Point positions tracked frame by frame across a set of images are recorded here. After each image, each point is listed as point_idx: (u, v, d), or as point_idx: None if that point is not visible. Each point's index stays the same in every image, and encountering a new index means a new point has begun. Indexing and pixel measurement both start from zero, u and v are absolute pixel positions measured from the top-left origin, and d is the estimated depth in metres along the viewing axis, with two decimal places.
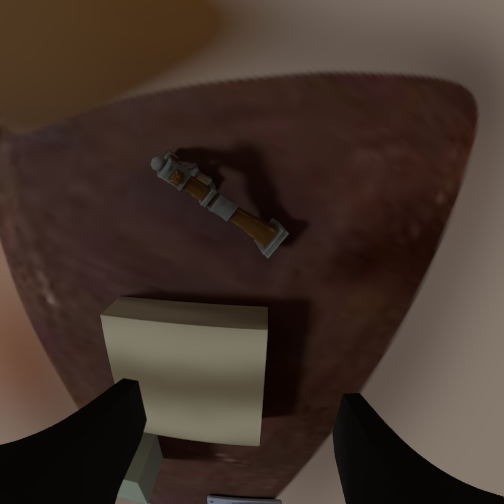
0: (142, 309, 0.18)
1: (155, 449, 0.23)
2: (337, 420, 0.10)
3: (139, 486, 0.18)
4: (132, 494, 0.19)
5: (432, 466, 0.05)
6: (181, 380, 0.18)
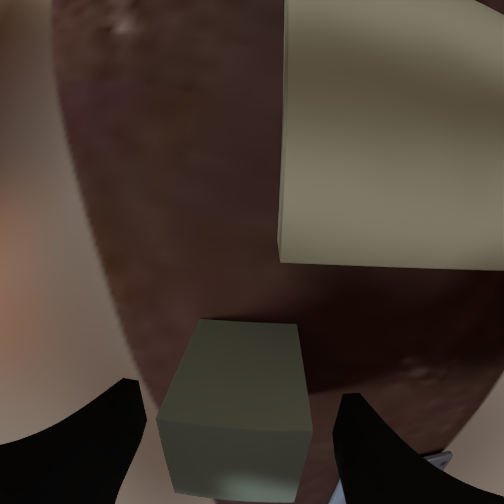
0: None
1: None
2: (337, 420, 0.10)
3: (308, 446, 0.07)
4: (264, 480, 0.08)
5: (432, 466, 0.05)
6: (444, 81, 0.07)
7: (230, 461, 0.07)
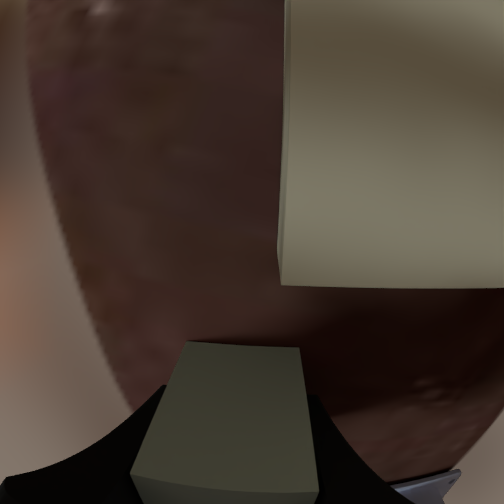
0: None
1: None
2: None
3: (312, 503, 0.05)
4: None
5: (376, 477, 0.05)
6: (477, 63, 0.05)
7: None
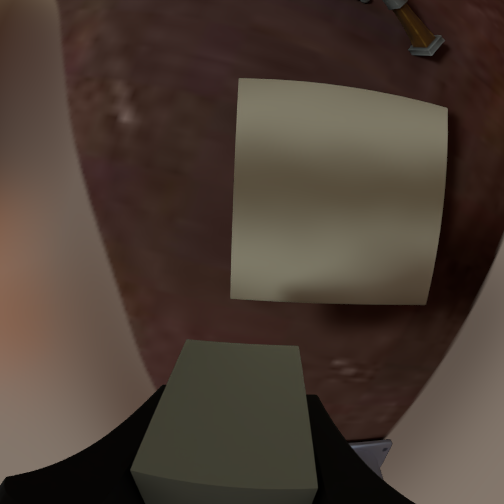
0: None
1: None
2: None
3: (311, 500, 0.05)
4: None
5: (376, 477, 0.05)
6: (347, 176, 0.13)
7: None
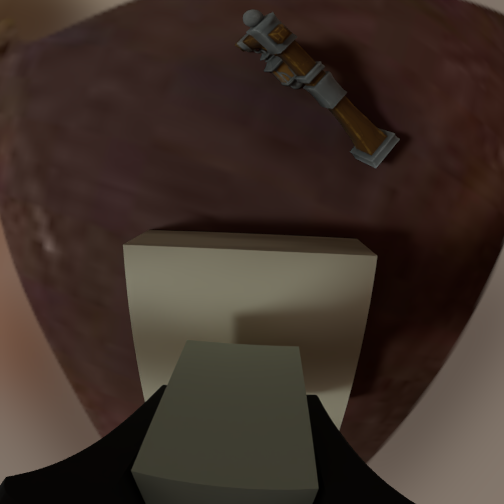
0: (187, 239, 0.13)
1: None
2: None
3: (312, 500, 0.05)
4: None
5: (376, 477, 0.05)
6: None
7: None
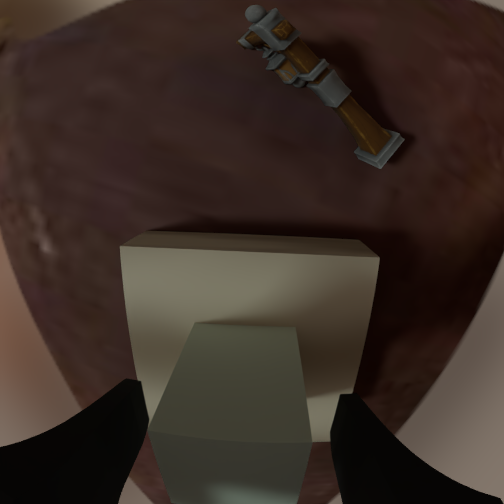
0: (185, 240, 0.13)
1: None
2: (334, 420, 0.10)
3: (308, 457, 0.07)
4: (262, 491, 0.07)
5: (429, 467, 0.05)
6: None
7: (226, 473, 0.07)
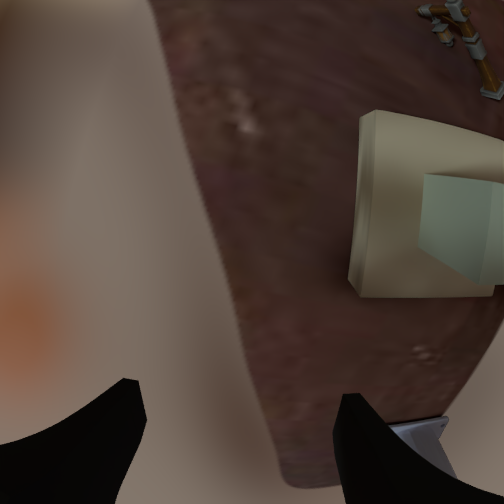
0: None
1: None
2: (337, 420, 0.10)
3: None
4: None
5: (432, 466, 0.05)
6: None
7: None
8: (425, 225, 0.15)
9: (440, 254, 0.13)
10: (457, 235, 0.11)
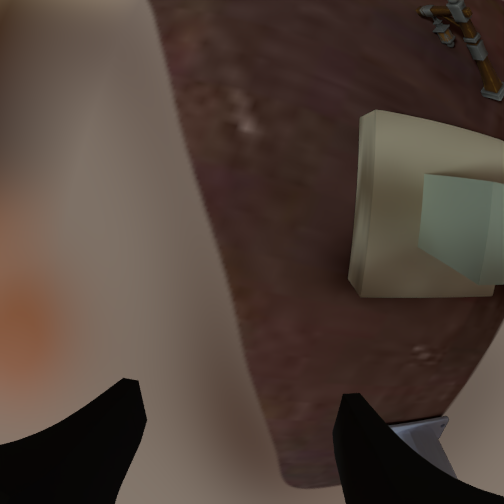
0: None
1: None
2: (337, 420, 0.10)
3: None
4: None
5: (432, 466, 0.05)
6: None
7: None
8: (425, 225, 0.15)
9: (440, 254, 0.13)
10: (458, 235, 0.11)
